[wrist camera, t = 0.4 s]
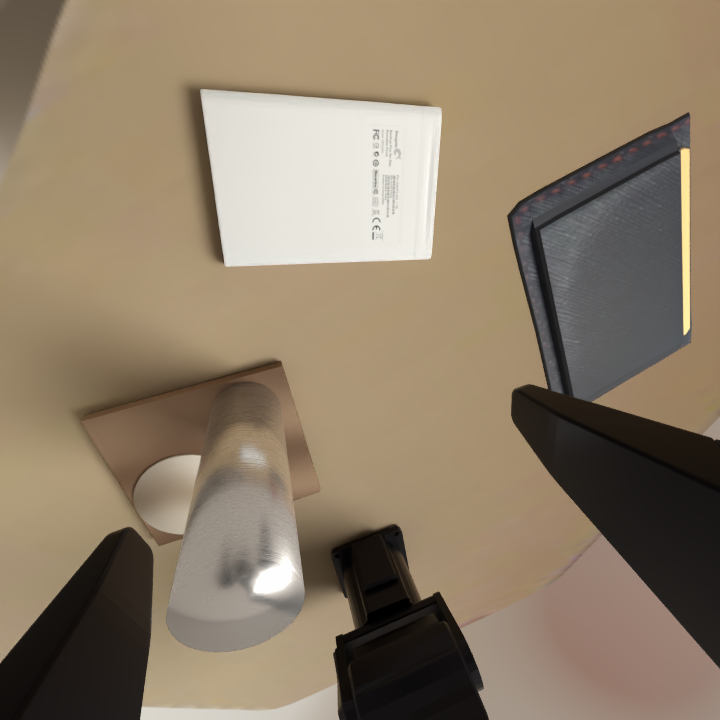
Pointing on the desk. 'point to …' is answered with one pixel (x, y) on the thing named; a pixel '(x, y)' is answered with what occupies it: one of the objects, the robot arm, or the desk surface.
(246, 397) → the steel pin
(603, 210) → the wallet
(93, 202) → the desk surface
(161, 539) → the board
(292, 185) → the external hard drive
